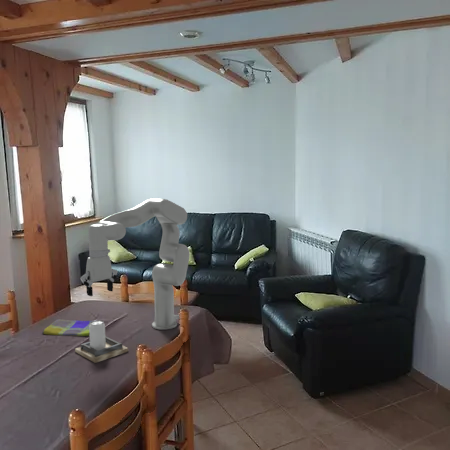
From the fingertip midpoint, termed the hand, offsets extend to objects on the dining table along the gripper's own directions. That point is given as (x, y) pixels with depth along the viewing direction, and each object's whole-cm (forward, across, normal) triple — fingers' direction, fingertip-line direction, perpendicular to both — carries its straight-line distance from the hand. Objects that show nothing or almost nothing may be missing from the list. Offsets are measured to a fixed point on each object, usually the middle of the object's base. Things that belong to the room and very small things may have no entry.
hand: (100, 293), depth 190 cm
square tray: (+26, 0, 0) cm, 26 cm away
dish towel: (+27, -5, -34) cm, 43 cm away
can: (+25, +2, 0) cm, 25 cm away
